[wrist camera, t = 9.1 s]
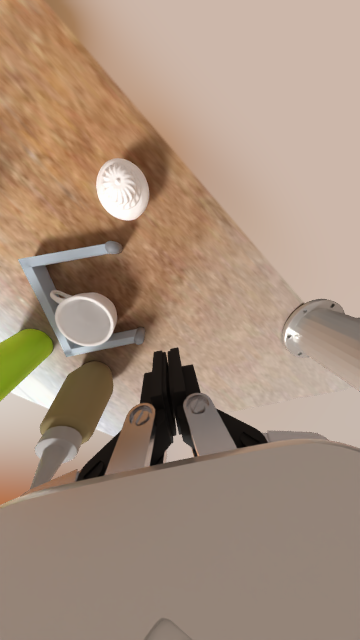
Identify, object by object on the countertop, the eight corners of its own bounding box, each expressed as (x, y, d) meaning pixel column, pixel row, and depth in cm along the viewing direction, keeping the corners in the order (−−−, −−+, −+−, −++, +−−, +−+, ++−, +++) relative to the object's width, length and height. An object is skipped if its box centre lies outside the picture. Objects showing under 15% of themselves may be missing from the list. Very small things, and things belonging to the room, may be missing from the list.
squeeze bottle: (78, 390, 35) (4, 518, 18) (70, 356, 32) (-27, 470, 15) (119, 388, 36) (86, 507, 19) (115, 354, 33) (71, 460, 16)
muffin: (97, 179, 23) (72, 151, 17) (141, 165, 23) (134, 132, 17) (116, 229, 25) (101, 222, 19) (156, 217, 25) (155, 205, 19)
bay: (120, 241, 26) (115, 239, 23) (146, 334, 32) (144, 343, 29) (32, 257, 25) (14, 257, 22) (75, 348, 31) (65, 359, 28)
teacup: (130, 308, 30) (124, 320, 25) (104, 339, 32) (94, 355, 27) (76, 268, 27) (58, 272, 22) (50, 304, 28) (27, 316, 23)
